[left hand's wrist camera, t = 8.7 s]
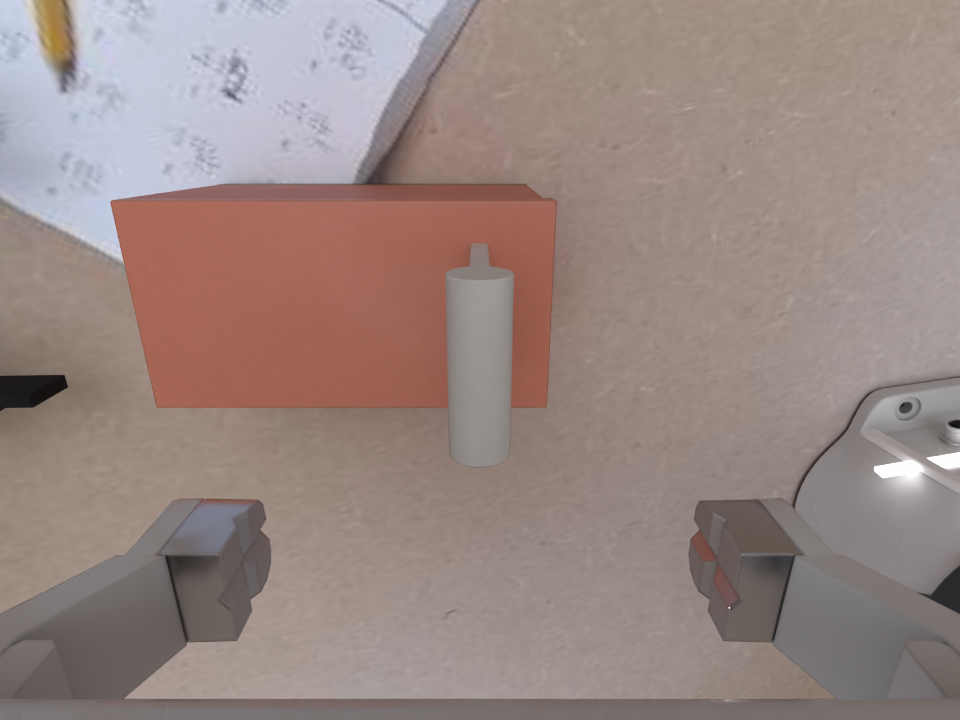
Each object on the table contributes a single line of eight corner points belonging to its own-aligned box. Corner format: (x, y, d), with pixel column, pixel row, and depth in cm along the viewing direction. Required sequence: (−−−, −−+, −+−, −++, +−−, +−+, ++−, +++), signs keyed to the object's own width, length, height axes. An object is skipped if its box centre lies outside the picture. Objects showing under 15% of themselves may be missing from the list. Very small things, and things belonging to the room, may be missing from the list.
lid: (553, 198, 24) (593, 225, 15) (544, 396, 27) (573, 508, 19) (127, 197, 24) (-64, 225, 15) (169, 396, 27) (31, 508, 19)
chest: (525, 183, 33) (543, 197, 24) (521, 334, 36) (536, 396, 27) (224, 183, 33) (127, 197, 24) (247, 334, 36) (170, 396, 27)
